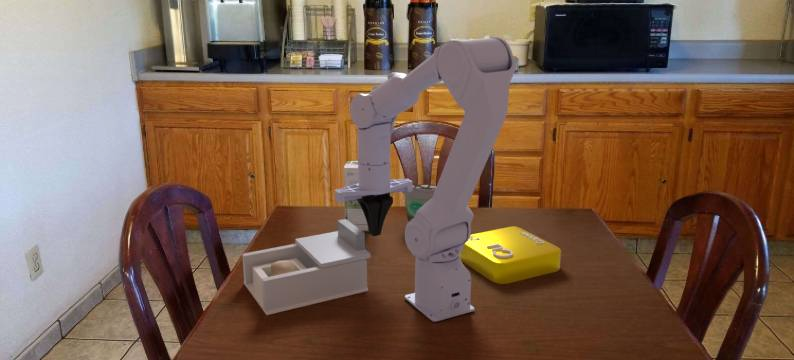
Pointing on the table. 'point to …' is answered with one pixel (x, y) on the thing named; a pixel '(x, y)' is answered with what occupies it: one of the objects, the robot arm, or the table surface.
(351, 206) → the syrup box
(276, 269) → the beige cylinder
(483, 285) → the table surface
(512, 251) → the element tile
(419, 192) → the food container
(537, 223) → the table surface
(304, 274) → the housing
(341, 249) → the lid
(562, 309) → the table surface
